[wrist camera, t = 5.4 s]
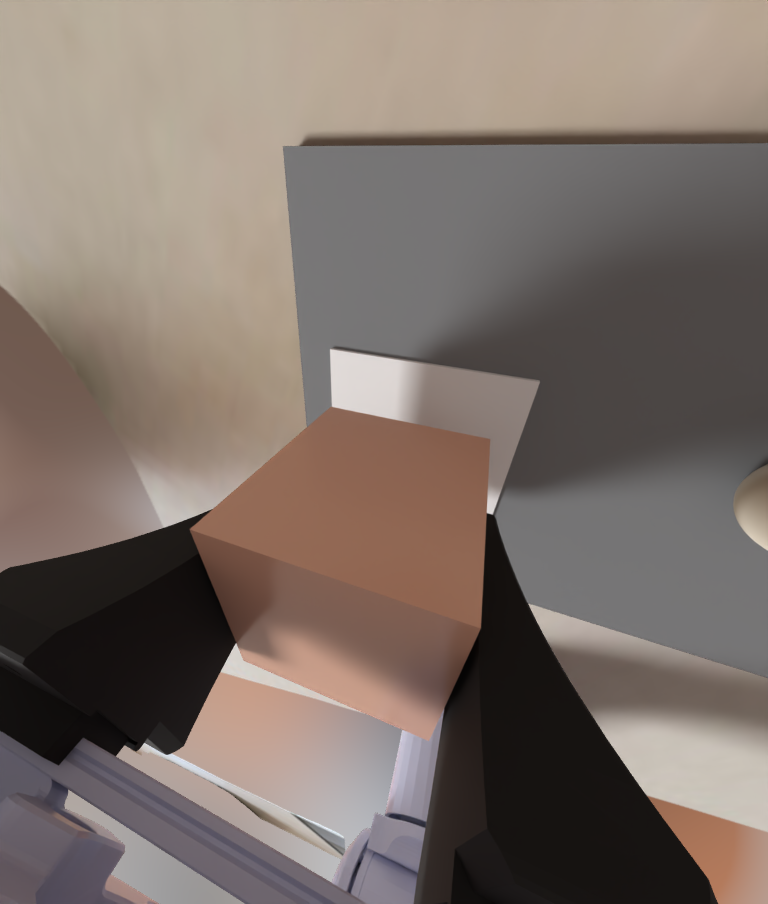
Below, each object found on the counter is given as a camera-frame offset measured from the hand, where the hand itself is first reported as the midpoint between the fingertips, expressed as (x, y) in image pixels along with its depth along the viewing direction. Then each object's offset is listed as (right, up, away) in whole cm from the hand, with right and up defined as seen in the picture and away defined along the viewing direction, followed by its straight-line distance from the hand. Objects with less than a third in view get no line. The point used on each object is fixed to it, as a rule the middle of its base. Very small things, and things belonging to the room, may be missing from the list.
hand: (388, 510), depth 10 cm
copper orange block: (0, +1, +1) cm, 1 cm away
